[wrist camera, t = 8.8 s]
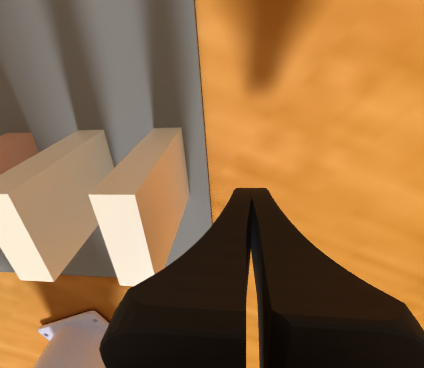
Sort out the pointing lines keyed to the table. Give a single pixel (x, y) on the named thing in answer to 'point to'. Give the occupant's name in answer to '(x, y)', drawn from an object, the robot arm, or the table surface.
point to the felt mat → (107, 91)
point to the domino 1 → (16, 149)
